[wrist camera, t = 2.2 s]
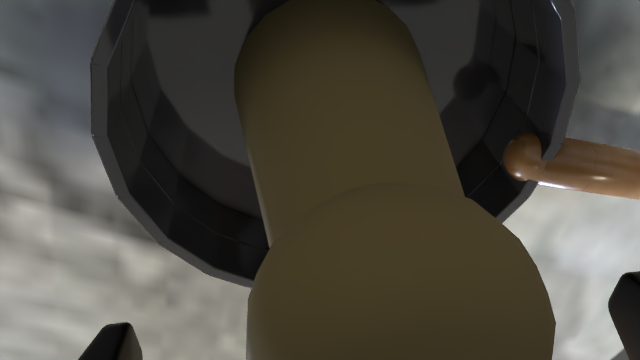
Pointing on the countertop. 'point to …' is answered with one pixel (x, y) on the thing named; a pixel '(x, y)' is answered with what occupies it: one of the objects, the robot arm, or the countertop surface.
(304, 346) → the olive gourd
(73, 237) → the countertop surface
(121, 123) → the pan
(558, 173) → the pan handle
